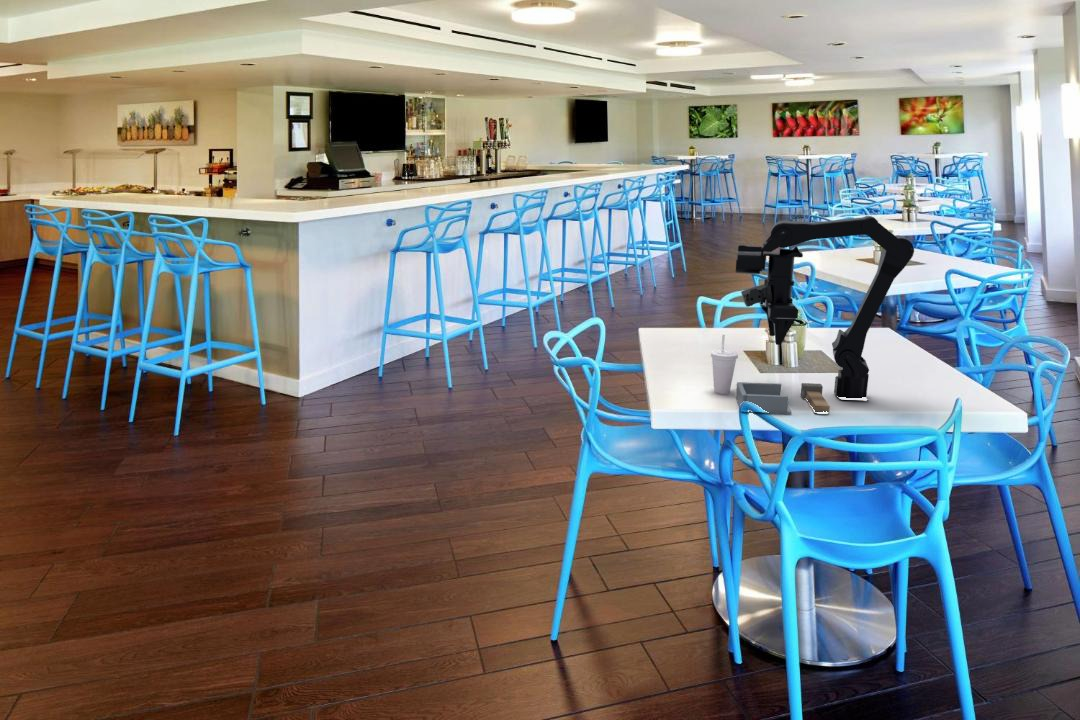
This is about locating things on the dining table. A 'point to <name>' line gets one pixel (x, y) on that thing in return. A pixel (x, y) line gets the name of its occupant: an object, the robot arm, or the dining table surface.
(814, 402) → the capped slat
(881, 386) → the dining table surface
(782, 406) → the endcap cradle
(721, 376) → the smoothie
